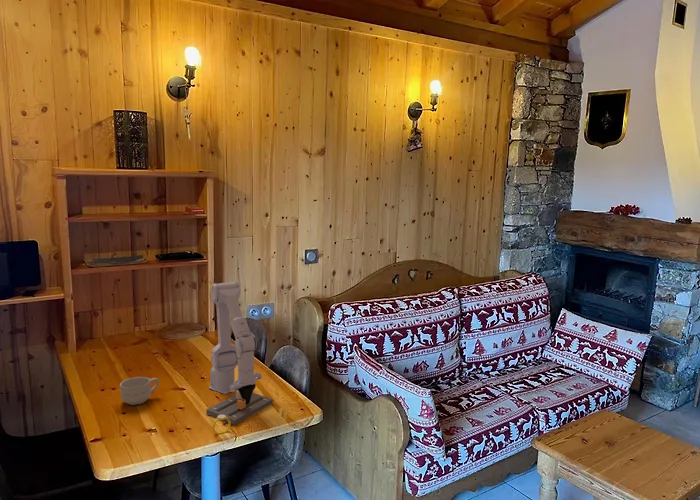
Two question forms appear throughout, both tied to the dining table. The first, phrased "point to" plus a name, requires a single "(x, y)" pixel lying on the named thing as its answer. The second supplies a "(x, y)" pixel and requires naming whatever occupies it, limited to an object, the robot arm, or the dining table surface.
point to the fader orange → (241, 403)
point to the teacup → (137, 389)
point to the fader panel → (237, 415)
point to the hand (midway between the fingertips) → (246, 403)
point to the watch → (221, 417)
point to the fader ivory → (238, 395)
